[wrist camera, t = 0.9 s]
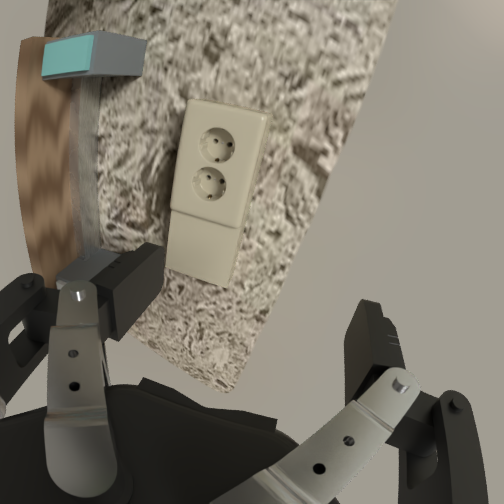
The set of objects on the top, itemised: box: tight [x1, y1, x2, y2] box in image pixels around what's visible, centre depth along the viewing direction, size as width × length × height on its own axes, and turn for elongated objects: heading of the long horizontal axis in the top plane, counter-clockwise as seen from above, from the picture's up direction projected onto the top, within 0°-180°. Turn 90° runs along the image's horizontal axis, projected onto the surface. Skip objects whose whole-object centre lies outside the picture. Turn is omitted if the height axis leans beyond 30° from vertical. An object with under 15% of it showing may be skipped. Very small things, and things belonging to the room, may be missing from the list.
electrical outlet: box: [165, 99, 273, 288], centre depth 29 cm, size 7×4×18 cm
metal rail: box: [69, 77, 102, 261], centre depth 31 cm, size 22×2×4 cm, turn 171°
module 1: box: [41, 30, 147, 80], centre depth 22 cm, size 4×7×9 cm, turn 81°
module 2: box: [56, 249, 121, 290], centre depth 35 cm, size 4×7×9 cm, turn 81°
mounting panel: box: [15, 37, 77, 289], centre depth 28 cm, size 31×2×10 cm, turn 171°
